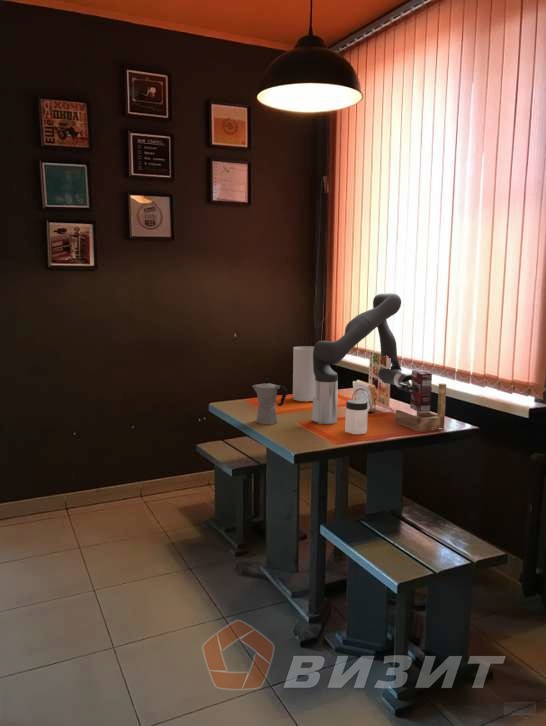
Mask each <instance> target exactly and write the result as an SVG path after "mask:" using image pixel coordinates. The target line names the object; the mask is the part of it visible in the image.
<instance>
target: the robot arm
mask: <svg viewBox="0 0 546 726" xmlns="http://www.w3.org/2000/svg"><path fill="white" fill-rule="evenodd" d="M401 306H402V298H401V297H400V296H399V295H398V294H397V293H392V292H389V293H386V292H385V293H378V294H376V295H375V296H374V298H373V300H372V308H371V309H369V310H365V311H363V312H362V313H359V314H358V315H355V317H354V318H352V319H350V320H349V322H347V324H346V326H345V329H344V334H343V335H342V336H341V337H340V338H339V339H337V340H335V341H331V340H319V341H317V342H316V343H315V345H314V346H313V347H314V350H313V371H314V375H315V398H313V402H312V416H311V417H312V421H313V422H315V423H316V422H317V423H316V424H319V425H331V424H332V425H333V424H335V423H337V421H338V391H339V390H338V387H339V385H338V384H339V383H338V382H339V381H338V380H339V375H338V373H337V372H336V371H335V370H333V369H332V368H331V365H333V366H334V365H336V364H338V363H340V362H341V361H342V360H343V359H344V358H345V357H346V355H348V354H349V352H351V350H352V349H353V348H354V347H356V345H358V344H359V343H360V342H361V341H363V340H364V339H365V338H366V337H367V336H369V335H370V334H371V333H372V332H373V331H374V330H375V329H376V328H377V331H378V336H379V343H380V356H382V357H383V356H386V355H387V356H389V358H391V362H390V363H391V365H390V366H391V369H390V370H389V369H386V368H382V367H380V369H379V370H378V372H377V377H378V379H379V378H380V379H381V380H382V381H383V382H384V383H383V382H382V383H383V384H386V383H388V385H394V386H396V387H397V389H398V390H401V391H403V392H406V393H411V391H414V392H416V393H418V390H419V388H418V387H416V386H413V384H412V383H411V378H412V373H410V372H407V371H404V370H402V367H401V365H400V362H399V358H398V348H397V342H396V341H397V340H396V338H395V335H394V333H393V332H392V330H391V329H390V327H389V324H388V321H387V320H388V319H389V318H391V317H392V316H394V315H395V314H397V313H398V312H399V310H400V309H401ZM380 379H379V380H380ZM432 391H433V387H432V386H431V392H432Z"/></svg>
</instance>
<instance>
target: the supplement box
mask: <svg viewBox="0 0 546 726" xmlns="http://www.w3.org/2000/svg"><path fill="white" fill-rule="evenodd" d="M411 374H412V378H411V383H412V384H413V386H416V387H418V388H419V390H418V393H416V392H414V391H411V392H410V403H409V404H410V406H409V408H410V409H411V410H413V411H416V413H417V412H419V413H429V412H431V401H432V399H431V398H432V391H431V387H432V381H433V380H432V378H433V374H432V373H431V372H428V371H425V370H423V369H413V370H411Z"/></svg>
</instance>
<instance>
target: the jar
mask: <svg viewBox="0 0 546 726" xmlns="http://www.w3.org/2000/svg"><path fill="white" fill-rule="evenodd" d="M345 403H346V404H345V405H346V407H345V419H344V420H345V421H344V422H345V423H344V424H345V426H344V432H345V433H347V432H348V433H347V434H350V433H352V435H354V434H355V435H365V434H366V433H367V431H368V418H369V417H368V413H369V410H368V409H369V408H368V405H369V404H368V401H367V400H366V399H359V398H353V399H348V400H346V402H345Z"/></svg>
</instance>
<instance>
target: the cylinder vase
mask: <svg viewBox="0 0 546 726" xmlns="http://www.w3.org/2000/svg"><path fill="white" fill-rule="evenodd" d="M313 350H314V346H312V345H311V346H307V345H306V346H305V345H304V346H302V345H301V346H293V350H292V351H293V352H292V353H293V355H292V356H293V359H292V363H293V365H292V372H293V373H292V399H293V400H294V401H295V400H298V401H313V398H315V375H314V371H313ZM298 401H297V402H298Z"/></svg>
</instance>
